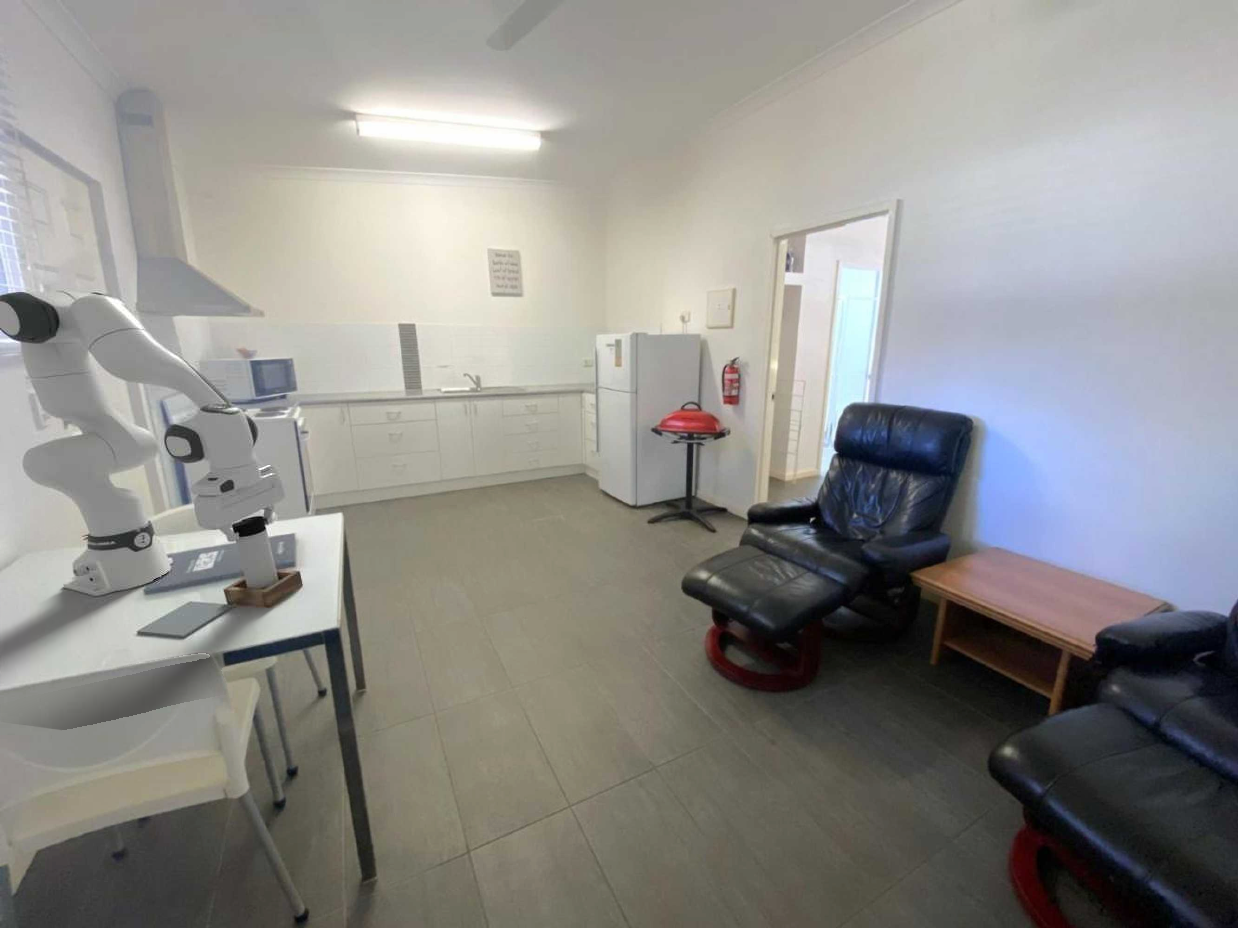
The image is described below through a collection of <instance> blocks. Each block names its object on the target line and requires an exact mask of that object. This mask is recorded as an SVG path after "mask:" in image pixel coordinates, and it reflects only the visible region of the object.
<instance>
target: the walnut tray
mask: <svg viewBox="0 0 1238 928" xmlns="http://www.w3.org/2000/svg"><path fill="white" fill-rule="evenodd" d="M276 572H277V576H278V582H277V583H275V584H274V585H272V586H270V587H269V588H267V589H266V590H265V589H251V588H247V584H246V580H245V576H244V577H242V578H240V579H239V580H237V581H235V582H233V583H232V584H230V585H228V586H227V587H225V588H223V589H222V590H223V594H224V597H225V601H226V604H230V605H234V606H243V607H255V608H268V609H270V608H271V607H273V606H274V605H276V604H278V603H280V602H281V600H283V599H285V598H286V597H288V596H290V594H292V593H294V592H296V590H298V589H299V588H302V587H303V579H302V575H301V571H300V570H291V569H277V568H276Z"/></svg>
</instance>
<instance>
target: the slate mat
mask: <svg viewBox="0 0 1238 928" xmlns="http://www.w3.org/2000/svg"><path fill="white" fill-rule="evenodd" d="M234 608H235V605H230V604H227V603H217V602H216V603H215V602H203V601H194V600H192V601H191V600H190V601H188V602H186V603H185V604H182V605H180V606H179V607H176V609H174V610H172V611H170V612H168V613H166V614H165V615H163V616H161V617H159V618H158V619H156V620H154V621H151V622H150V623H149V624H147V625H145V626H143V627H141V628H140V629H138V630H137V631H136V634H139V635H149V636H160V637H171V638H181V639H185V638H187V637H189V636H190V635H192V634H194V633H195V632H197V631H199V630H200V629H202V628H203V627H205V626H207V624H210V623H211V622H213V621H214V620H216V619H217V618H219V617H220V616H221V617H222V615H224V614H226V613H228V612H229V611H230V610H232V609H234Z"/></svg>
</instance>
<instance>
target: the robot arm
mask: <svg viewBox="0 0 1238 928" xmlns="http://www.w3.org/2000/svg"><path fill="white" fill-rule="evenodd" d="M0 331H1V332H2V333H3V334H4V335H6V336H7V337H8V338H10V339H11V340H14V341H15V342H18V343H19V342H20V350H21V356H22V359H23V364H24V366H25V367H24V368H25V370H26V373H27V375H28V378H29V381H30V383H31V385H32V387H33V390H34V393H35V394H36V398H37V399H38V401H39V404H40V406H41V408H42V410H43V411H44V412H45V413H47V414H48V415H50V416H51V417H54V418H57V419H59V420H64V421H65V420H66V421H69V422H71V423H72V424H74V425H75V426H77V428H78V429H79V430H80V432H81V434H75V435H73V436H71V435H70V436H67V437H61V438H57V439H56V438H55V439H53V440H49V441H47V442H43V443H40V444H39V445H36V446H34V447H31V448H28V449H27V451H25V453H24V456H23V458H22V468H23V471H24V473H25V474H26V476H27V477H28V478H29V479H30V480H31V481H33V482H34V483H35V484H38V485H40V486H43V487H45V488H49V489H53V490H56V491H58V492H59V493H61V494H64V495H65V496H67V497H68V498H70V500H71V501H73V502H74V504H75V505H76V506H77V508H78V509H79V511H80V514H81V517H82V518H83V520H84V524H85V525H86V527H87V530H88V533H87V534H84V535H82V538H83V537H85V538H83V541H86V540H87V541H86V543H87V544H86V545H87V547H86V549H85V550H84V551H83V552H82V553H81V555H79V556H78V557H77V558H76V559H75V560H73V562H72V573H73V575H74V576H73V577H71V578H69V579H67V580H66V581H65V582H64V583H63V587H64V588H66V589H68V590H73V591H75V592H78V593H83V594H86V595H90V596H92V597H99V596H104V595H107V594H110V593H113V592H117V591H118V592H119V591H124V590H129V589H133V588H137V587H140V586H142V585H146V584H148V583H151V582H153V580H154V579H155V578H157V577H160V578H162V577H163V576H162V575H164V574H166V573H167V572H168V571H169V572H170V571H171V570H172V564H173V562H174V560H173V558H172V557H168V555H167V552H166V551H165V548H164V545H163V544H162V542H161V539H160V537H158V536H157V535H155V531H154V529H155V528H154V525H153V523H152V521H151V520H149V518H148V515H147V512H146V509H145V505H144V502H143V498H142V497H141V495H140V494H139V493H137V492H136V491H135V490H132V489H129V488H125V487H119V486H118V487H117V486H115V485H114V484H113V482H112V481H111V478H110V476H111V475H114V474H118V473H123V472H126V471H130V470H133V469H136V468H139V467H142V466H143V465H145V464H147V463H149V462H151V461H153V460H155V459H156V457H157V455H158V454H159V442H158V440H157V438H156V436H155V435H154V434H153V433H152V432H150V430H148V429H146V428H144V427H142V426H138V425H136V424H134V423H132V422H131V421H129V420H127V419H126V418H125V417H124V416H123V415H121V414H120V413H119V411H118V410H116V408H115V406H113V405H112V403H111V401H110V400H109V398H108V397H109V396H107V393H106V391H105V389H104V386H103V385H102V384H103V383H102V382H101V380H100V378H99V375H98V372H97V370H96V368H95V365H94V363H93V361H92V358H91V357H90V354H91V355H92V357H93V358H94V360H95V361H96V362H97V363H98V365H99V366H101V368H102V369H104V370H105V371H106V372H107V373H109V374H110V375H112V377H115V378H117V379H118V380H119V379H120V380H123V381H126V382H130V383H134V384H144V385H151V386H159V387H164V388H168V389H172V390H174V391H177V392H179V393H182V394H183V395H185V396H186V397H187V398H188V399H189V400H190V401H191V402H192V403H193V404H195V406H196V407H198V410H197V411H196V413H195V414H194V415H192V416H190V417H189V418H186V419H184V420H181V421H178V422H176V423H173V424H170V425H169V426H168V427H167V429H166V430H165V433H164V438H163V442H164V446H165V449H166V451H167V452H168V454H169V456H170V457H172V458H173V459H174V460H176V461H179V462H180V463H182V464H197V463H201V462H205V461H206V462H208V463H209V468H210V469H209V472H208V473H207V474H206V475H204V476H203V477H202V478H200V479H199V480H198V481H197V482H195V483H194V484H192V485H191V487H190V490H191V493H192V495H194V496H196V497H195V498H194V501H193V507H194V511H195V512H194V513H195V516H196V517H195V518H196V520H197V523H198V526H199V527H200V528H201V529H203V530H209V531H210V530H211V531H217V530H219V531H220V532H221V533H222V534H224V535H225V537H226V540H227V542H229V543H234V542H236V540H238V539H239V534H238V532H233V528H232V524H234V523H236V522H237V521H240V520H243V519H245V518H246V517H249V516H250V515H252V514H253V515H254V514H255V513H258V512H260V511H261V510H263V518H264V522H265V526H269V525H271V524H273V523H274V520H273V513H274V511H275V506H274V505H275V504H278V503H279V502H282V501H284V500H285V496H286V492H285V489H284V486H283V483H282V481H281V479H280V477H279V475H278V472H277V469H276V468H275V467H273V466H272V465H265V466H263V467H260V464H259V460H258V457H257V455H256V453H255V452H254V446H255V445H256V443H257V440H258V436H259V430H258V427H257V424H256V423H255V421H254V419H252V418H251V417H250V416H249V415H248V414H247V413H245V412H244V411H243V409H241V408H240V407H239V406H236V405H234V404H233V403H232V402H231V401H230V400H229V398H227V397H226V396H225V395H224V394H223V393H222V392H221V391H220V389H218V388H217V387H216V386H215V385H214V384H213V383H212V382H211V381H210V380H209V379H208V378H207V377H206V376H205V375H204V374H203V373H202V372H200V370H198V369H197V368H196V366H194V365H193V364H192V363H191V362H189V361H187V360H186V359H184V358H182V357H179V356H177V355H176V354H174V353H173V352H171V351H170V350H169V349H167V348H165V347H164V346H163V344H161V343H160V342H158V341H157V340H156V339H155V337H153V336H152V335H151V333H150V332H149V331H148V329H147V328H146V327H145V325H143V323H141V322H140V320H139V319H138V318H137V317H136V316H135V315H134V314H133V313H132V312H131V311H130V310H129V309H128V308H127V306H126V305H125V304H124V303H123V302H122V301H121V299H119V298H117V297H116V296H113V295H110V294H105V293H100V292H96V291H95V292H82V291H70V290H56V291H34V292H24V291H15V292H7V293H4V294H1V295H0ZM170 564H171V565H170ZM170 569H171V570H170ZM169 572H168V573H169ZM168 573H167V574H168ZM167 574H166V575H167ZM161 576H162V577H161ZM164 576H165V575H164ZM154 581H155V580H154Z"/></svg>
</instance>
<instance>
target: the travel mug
mask: <svg viewBox="0 0 1238 928" xmlns="http://www.w3.org/2000/svg"><path fill="white" fill-rule="evenodd" d="M231 524H232V528H231V529H232V531H233V532H238V534H239V539H238V540H236V541H235V544H236V548H237V552H238V556H239V561H240V563H241V568H242V572H243V576H244V577H245V580H246V584H247V588H251V589H265V590H266V589H267V588H269V587H270V586H272V585H274V584H275V583H277V582H278V576H277V572H276V569H277V568H276V565H275V560H274V556H273V553H272V552H273V551H272V548H271V547H272V546H271V544H270V542H271V541H270V538H269V534H268V531H267V527H266V525H265V522H264V518H263V516H262V515H257V516H256V515H254V516H250V517H247V518H246V517H245V518H242V519H241V520H239V521H238V522H237V521H236V522H233V523H231Z"/></svg>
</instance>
